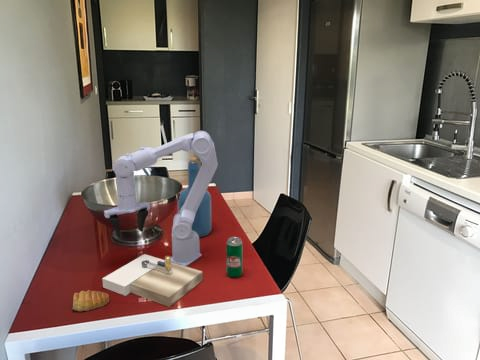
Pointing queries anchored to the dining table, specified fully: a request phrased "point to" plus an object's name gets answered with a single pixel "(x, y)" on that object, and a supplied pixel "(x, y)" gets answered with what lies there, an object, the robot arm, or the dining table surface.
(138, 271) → the frame slab
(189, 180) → the blue bottle
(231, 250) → the soda can
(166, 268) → the bar
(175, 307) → the dining table surface
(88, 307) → the pastry
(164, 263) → the block
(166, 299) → the slab
